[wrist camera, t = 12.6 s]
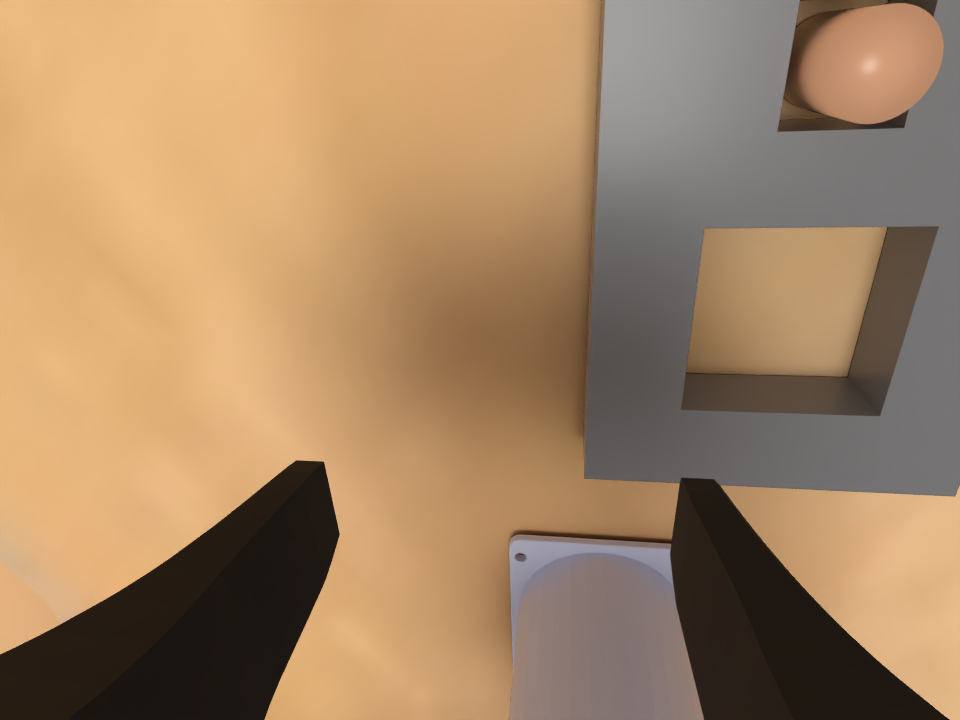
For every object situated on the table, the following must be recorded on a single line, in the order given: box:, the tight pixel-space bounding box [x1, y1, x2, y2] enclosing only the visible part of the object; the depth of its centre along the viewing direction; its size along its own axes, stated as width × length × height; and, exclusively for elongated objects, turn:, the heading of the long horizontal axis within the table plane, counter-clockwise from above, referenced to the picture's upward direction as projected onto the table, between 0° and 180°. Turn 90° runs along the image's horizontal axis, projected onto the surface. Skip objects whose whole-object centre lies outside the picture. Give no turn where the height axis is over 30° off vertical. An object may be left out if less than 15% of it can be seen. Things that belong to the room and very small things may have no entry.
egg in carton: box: [784, 3, 944, 124], centre depth 15 cm, size 2×2×4 cm
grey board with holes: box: [583, 0, 960, 496], centre depth 18 cm, size 16×12×2 cm
